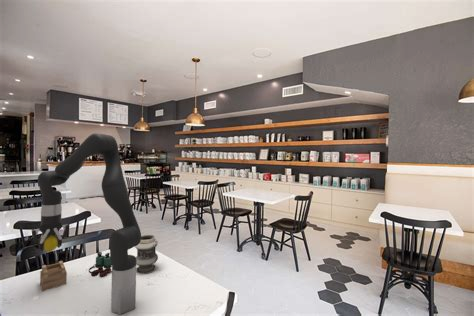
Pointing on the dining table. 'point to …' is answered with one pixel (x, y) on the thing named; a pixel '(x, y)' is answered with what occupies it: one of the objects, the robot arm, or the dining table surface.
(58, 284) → the wooden crate
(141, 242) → the apothecary jar
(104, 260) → the binoculars
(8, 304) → the dining table surface
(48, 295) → the dining table surface
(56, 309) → the dining table surface
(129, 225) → the robot arm
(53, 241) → the lemon
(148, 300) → the dining table surface
